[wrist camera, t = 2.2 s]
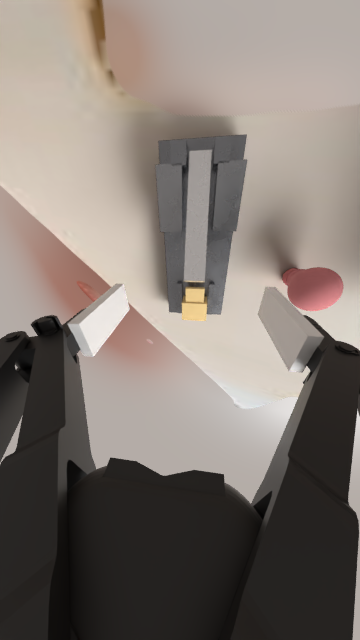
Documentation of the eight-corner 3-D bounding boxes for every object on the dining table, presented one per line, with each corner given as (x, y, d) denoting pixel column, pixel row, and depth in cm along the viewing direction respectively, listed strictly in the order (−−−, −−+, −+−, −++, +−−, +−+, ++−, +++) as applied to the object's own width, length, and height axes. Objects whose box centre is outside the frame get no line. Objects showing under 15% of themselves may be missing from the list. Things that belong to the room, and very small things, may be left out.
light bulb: (288, 250, 32) (328, 267, 22) (318, 265, 32) (369, 288, 22) (264, 282, 35) (288, 308, 26) (291, 294, 36) (325, 325, 26)
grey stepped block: (164, 150, 26) (152, 131, 20) (240, 145, 25) (252, 123, 19) (171, 304, 41) (166, 318, 36) (219, 306, 40) (222, 321, 34)
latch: (183, 282, 33) (181, 289, 30) (207, 282, 33) (208, 289, 30) (183, 311, 37) (182, 319, 34) (205, 312, 37) (205, 320, 34)
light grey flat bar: (189, 157, 23) (189, 151, 22) (211, 156, 23) (211, 149, 22) (184, 281, 24) (183, 280, 23) (204, 282, 24) (204, 281, 23)
